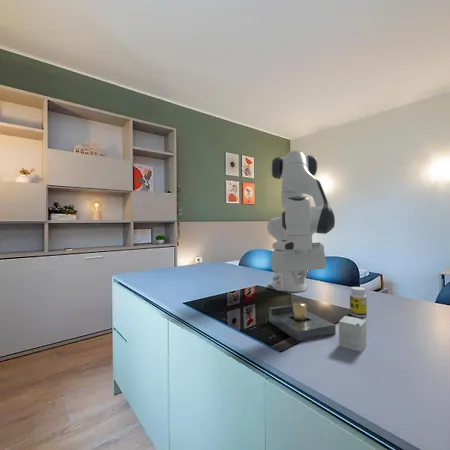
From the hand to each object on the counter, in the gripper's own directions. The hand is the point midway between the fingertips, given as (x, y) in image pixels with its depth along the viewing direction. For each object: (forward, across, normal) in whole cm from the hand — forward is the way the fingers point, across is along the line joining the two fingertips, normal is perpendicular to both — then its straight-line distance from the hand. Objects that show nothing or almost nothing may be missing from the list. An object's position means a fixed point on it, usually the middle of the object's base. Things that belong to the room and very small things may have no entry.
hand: (299, 283), depth 91 cm
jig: (+15, 0, 0) cm, 15 cm away
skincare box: (+15, -6, +17) cm, 24 cm away
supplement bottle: (+15, -28, -2) cm, 32 cm away
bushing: (+15, 0, 0) cm, 15 cm away
